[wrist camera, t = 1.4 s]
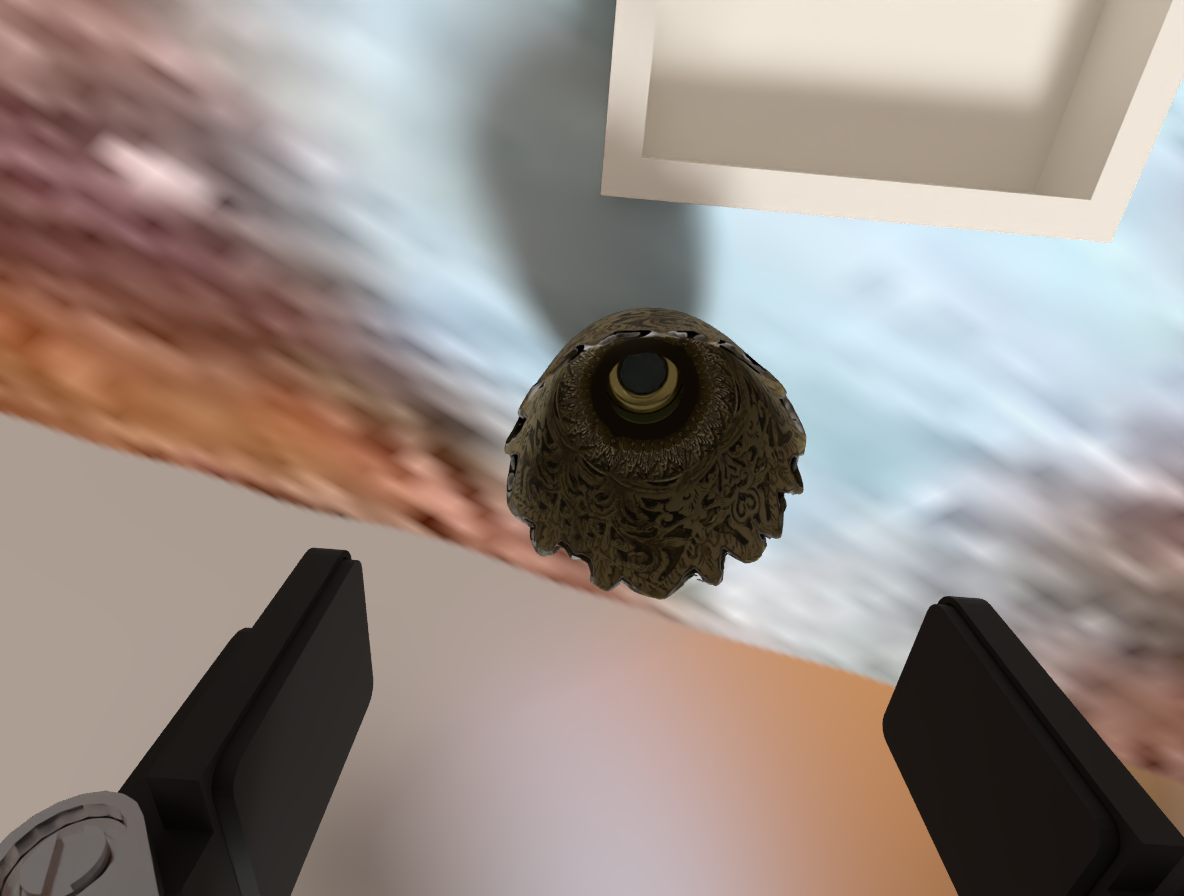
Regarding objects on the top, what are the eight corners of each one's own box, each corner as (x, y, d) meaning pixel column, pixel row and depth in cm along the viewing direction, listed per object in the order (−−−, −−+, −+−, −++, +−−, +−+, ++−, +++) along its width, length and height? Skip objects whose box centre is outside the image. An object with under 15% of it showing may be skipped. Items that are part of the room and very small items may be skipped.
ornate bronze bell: (791, 354, 22) (875, 458, 15) (658, 496, 25) (674, 642, 18) (624, 219, 20) (628, 264, 13) (500, 388, 23) (447, 502, 16)
